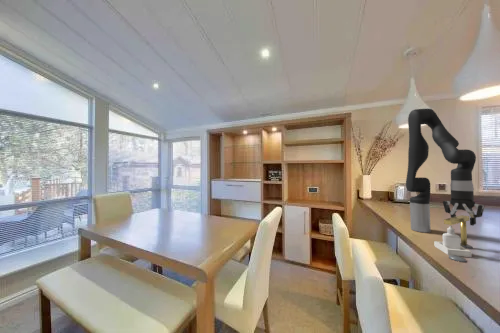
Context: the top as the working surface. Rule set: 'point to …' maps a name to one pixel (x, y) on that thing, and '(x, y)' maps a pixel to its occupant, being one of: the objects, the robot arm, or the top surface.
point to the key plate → (466, 246)
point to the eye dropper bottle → (451, 239)
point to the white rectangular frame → (452, 250)
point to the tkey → (462, 221)
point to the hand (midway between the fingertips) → (463, 223)
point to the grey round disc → (457, 258)
